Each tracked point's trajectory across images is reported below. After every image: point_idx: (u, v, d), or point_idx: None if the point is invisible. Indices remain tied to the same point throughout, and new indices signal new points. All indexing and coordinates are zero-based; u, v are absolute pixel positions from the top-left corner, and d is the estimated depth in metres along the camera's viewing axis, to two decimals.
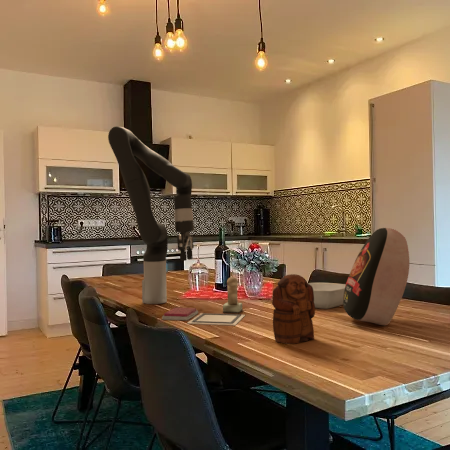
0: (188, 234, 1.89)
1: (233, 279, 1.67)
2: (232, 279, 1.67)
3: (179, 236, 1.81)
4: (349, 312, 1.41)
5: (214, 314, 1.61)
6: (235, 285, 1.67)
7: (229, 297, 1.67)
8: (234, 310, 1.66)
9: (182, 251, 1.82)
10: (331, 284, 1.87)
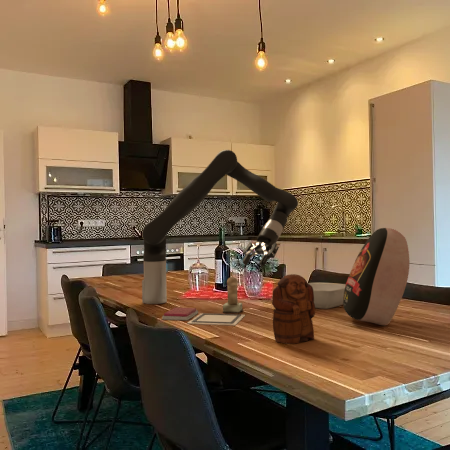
0: None
1: (233, 279, 1.67)
2: (232, 279, 1.67)
3: (276, 245, 1.77)
4: (349, 312, 1.41)
5: (214, 314, 1.61)
6: (235, 285, 1.67)
7: (229, 297, 1.67)
8: (234, 310, 1.66)
9: (267, 257, 1.75)
10: (331, 284, 1.87)
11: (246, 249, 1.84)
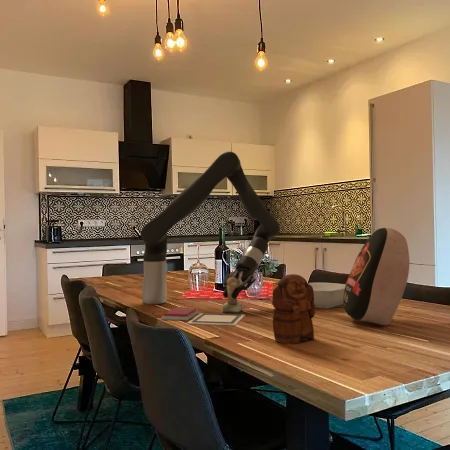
0: None
1: (233, 279, 1.67)
2: (232, 279, 1.67)
3: (253, 278, 1.67)
4: (349, 312, 1.41)
5: (214, 314, 1.61)
6: (235, 285, 1.67)
7: (229, 297, 1.67)
8: (234, 310, 1.66)
9: (240, 289, 1.67)
10: (331, 284, 1.87)
11: (226, 280, 1.73)
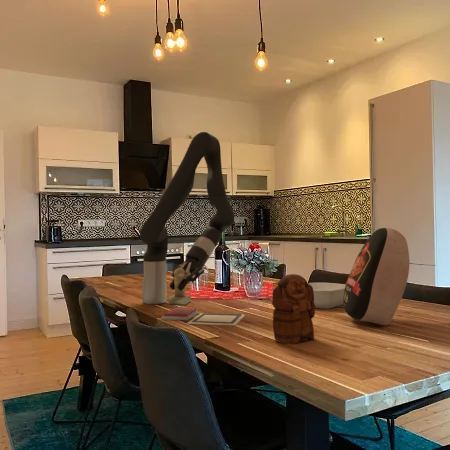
0: None
1: (180, 270, 1.60)
2: (179, 270, 1.60)
3: (201, 269, 1.60)
4: (349, 312, 1.41)
5: (214, 314, 1.61)
6: (182, 276, 1.60)
7: (176, 289, 1.60)
8: (180, 302, 1.58)
9: (187, 281, 1.59)
10: (331, 284, 1.87)
11: None
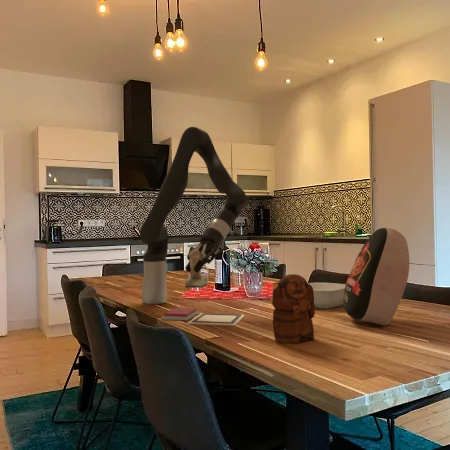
0: None
1: (195, 252, 1.57)
2: (194, 252, 1.57)
3: (217, 250, 1.57)
4: (349, 312, 1.41)
5: (214, 314, 1.61)
6: (198, 258, 1.57)
7: (192, 271, 1.57)
8: (197, 284, 1.55)
9: (203, 263, 1.57)
10: (331, 284, 1.87)
11: None
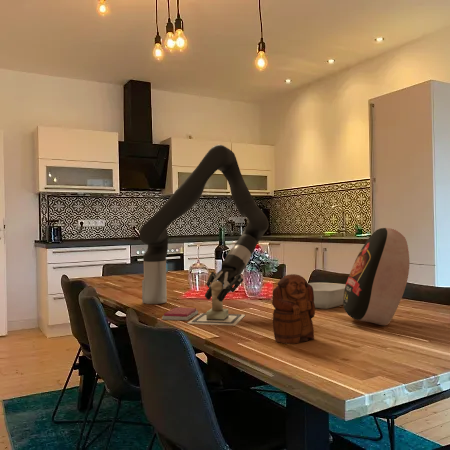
0: None
1: (218, 283, 1.53)
2: (216, 283, 1.53)
3: (240, 278, 1.53)
4: (349, 312, 1.41)
5: None
6: (220, 290, 1.53)
7: (213, 303, 1.53)
8: (219, 317, 1.52)
9: (227, 291, 1.53)
10: (331, 284, 1.87)
11: (209, 280, 1.60)
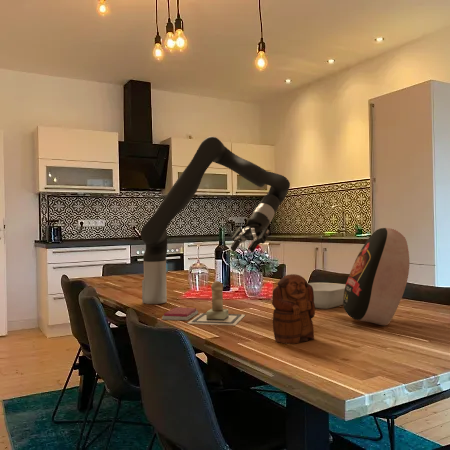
0: None
1: (218, 283, 1.54)
2: (217, 283, 1.53)
3: (267, 230, 1.65)
4: (349, 312, 1.41)
5: None
6: (220, 290, 1.53)
7: (213, 303, 1.54)
8: (219, 317, 1.52)
9: (257, 243, 1.63)
10: (331, 284, 1.87)
11: (235, 234, 1.72)
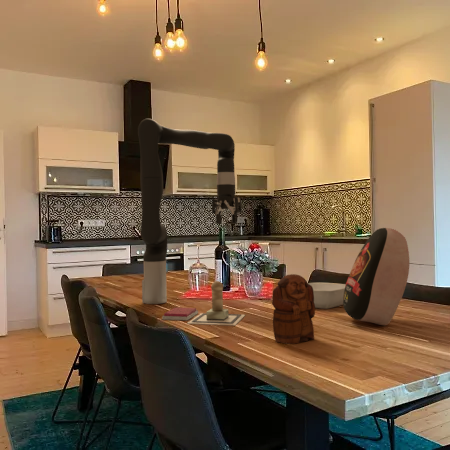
0: None
1: (218, 283, 1.54)
2: (217, 283, 1.53)
3: (238, 199, 1.83)
4: (349, 312, 1.41)
5: None
6: (220, 290, 1.53)
7: (213, 303, 1.54)
8: (219, 317, 1.52)
9: (236, 214, 1.84)
10: (331, 284, 1.87)
11: (213, 208, 1.91)
